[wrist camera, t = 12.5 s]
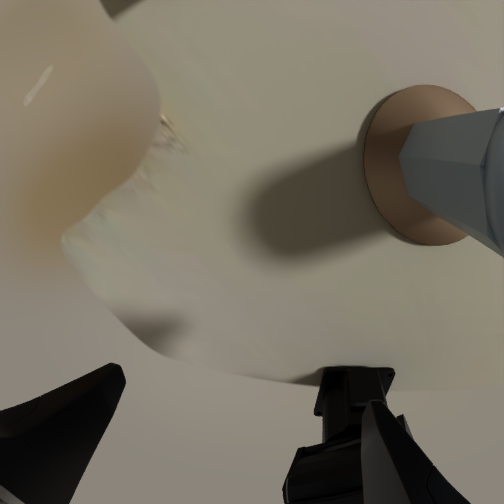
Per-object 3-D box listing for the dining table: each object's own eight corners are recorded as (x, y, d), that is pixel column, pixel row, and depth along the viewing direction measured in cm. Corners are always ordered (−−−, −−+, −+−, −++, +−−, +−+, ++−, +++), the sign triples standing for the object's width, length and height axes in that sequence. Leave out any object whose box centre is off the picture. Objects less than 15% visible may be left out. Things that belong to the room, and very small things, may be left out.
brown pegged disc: (482, 248, 16) (507, 265, 13) (356, 236, 18) (367, 255, 15) (494, 108, 13) (522, 105, 9) (363, 72, 14) (376, 56, 11)
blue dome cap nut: (482, 201, 15) (578, 246, 6) (412, 222, 16) (497, 290, 7) (464, 114, 13) (566, 105, 4) (389, 128, 15) (478, 110, 6)
